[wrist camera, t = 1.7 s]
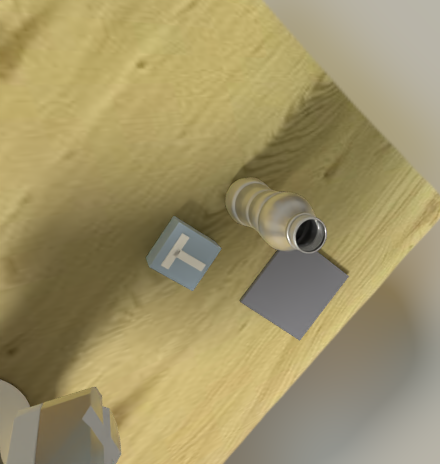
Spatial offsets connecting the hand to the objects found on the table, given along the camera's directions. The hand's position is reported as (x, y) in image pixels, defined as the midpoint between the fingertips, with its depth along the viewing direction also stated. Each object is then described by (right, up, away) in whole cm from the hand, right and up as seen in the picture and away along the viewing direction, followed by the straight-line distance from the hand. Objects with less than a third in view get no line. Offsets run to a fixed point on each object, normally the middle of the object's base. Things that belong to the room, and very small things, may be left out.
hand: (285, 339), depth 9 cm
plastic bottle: (+2, +7, +51) cm, 51 cm away
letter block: (-7, 0, +50) cm, 51 cm away
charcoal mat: (+10, -6, +57) cm, 58 cm away
